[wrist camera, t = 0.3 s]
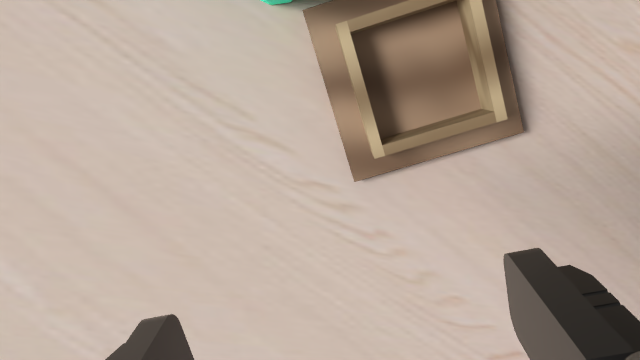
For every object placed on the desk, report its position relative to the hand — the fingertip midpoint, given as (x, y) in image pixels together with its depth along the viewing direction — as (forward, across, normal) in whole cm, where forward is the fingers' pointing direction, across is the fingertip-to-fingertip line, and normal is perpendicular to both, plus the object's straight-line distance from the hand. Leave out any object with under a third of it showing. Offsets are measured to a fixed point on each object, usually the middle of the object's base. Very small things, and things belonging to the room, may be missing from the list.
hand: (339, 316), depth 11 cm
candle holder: (+28, -6, -2) cm, 29 cm away
